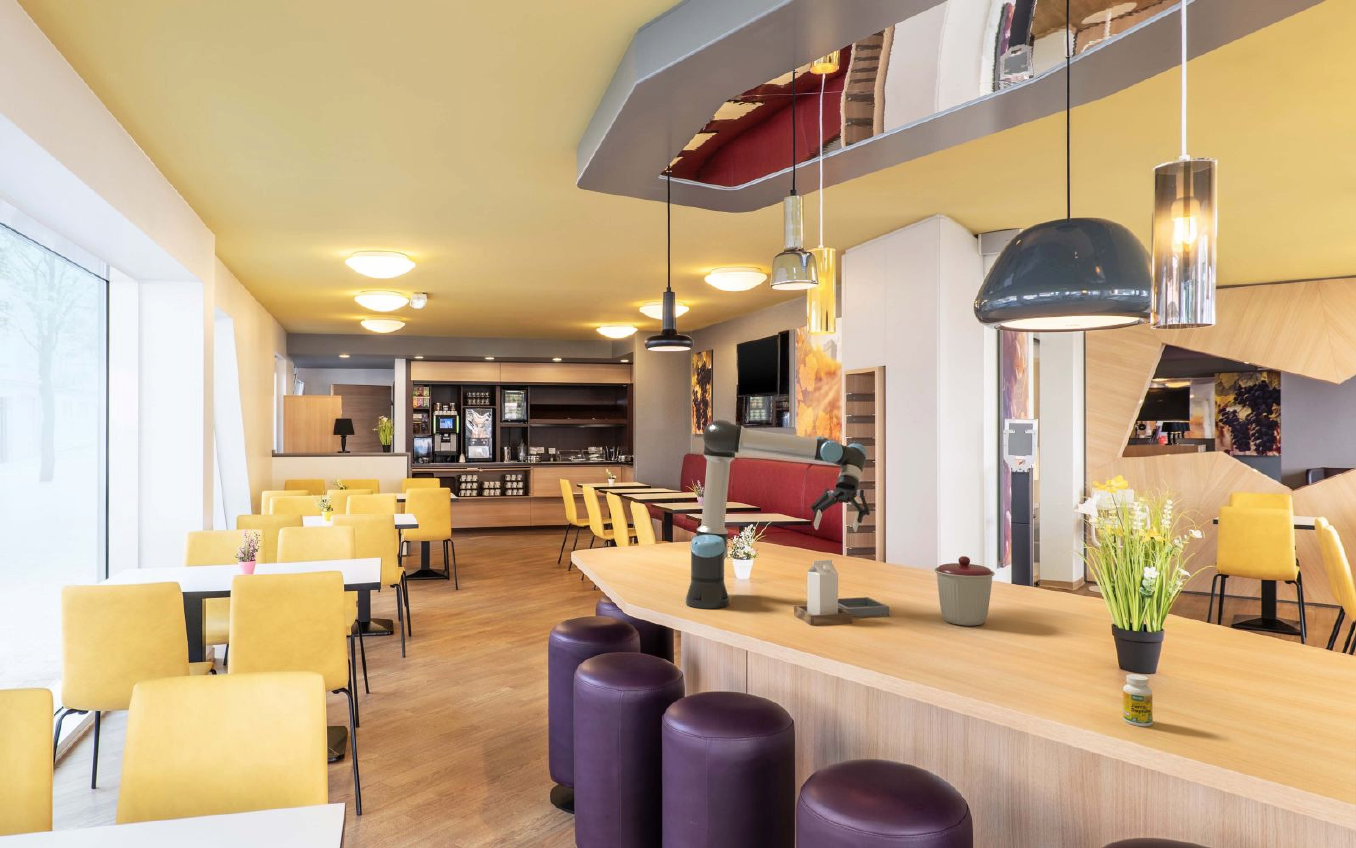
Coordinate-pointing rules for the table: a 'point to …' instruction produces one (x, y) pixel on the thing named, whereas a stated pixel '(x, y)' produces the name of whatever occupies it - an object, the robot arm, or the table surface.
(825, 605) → the milk carton
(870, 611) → the tray
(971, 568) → the canister
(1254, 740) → the table surface
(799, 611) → the holder frame
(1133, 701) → the supplement bottle
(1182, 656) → the table surface
